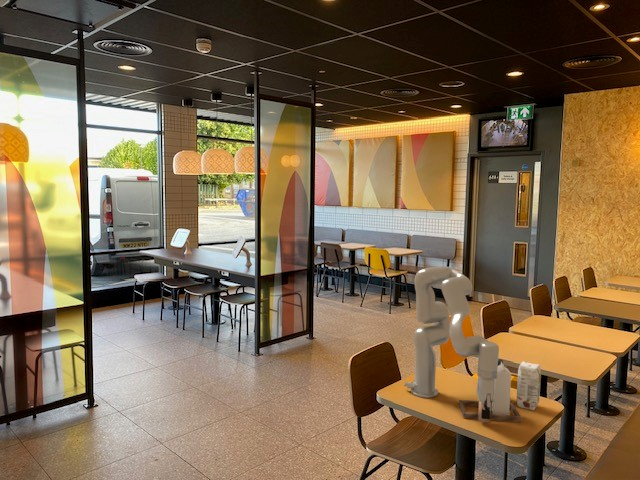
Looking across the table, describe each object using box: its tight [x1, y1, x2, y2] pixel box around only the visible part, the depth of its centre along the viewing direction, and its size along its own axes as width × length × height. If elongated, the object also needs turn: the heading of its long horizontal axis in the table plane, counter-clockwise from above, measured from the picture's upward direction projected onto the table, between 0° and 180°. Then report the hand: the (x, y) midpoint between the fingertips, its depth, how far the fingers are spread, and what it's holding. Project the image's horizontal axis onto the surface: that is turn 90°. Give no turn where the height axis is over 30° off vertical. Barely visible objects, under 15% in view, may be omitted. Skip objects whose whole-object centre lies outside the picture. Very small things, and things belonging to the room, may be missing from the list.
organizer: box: [458, 399, 522, 423], centre depth 204 cm, size 23×13×2 cm, turn 82°
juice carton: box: [516, 361, 542, 411], centre depth 210 cm, size 8×9×19 cm
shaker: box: [477, 400, 492, 423], centre depth 194 cm, size 5×5×9 cm
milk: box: [491, 362, 512, 415], centre depth 203 cm, size 6×6×22 cm
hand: (484, 414), depth 194 cm, fingers closed on shaker, 4 cm apart
